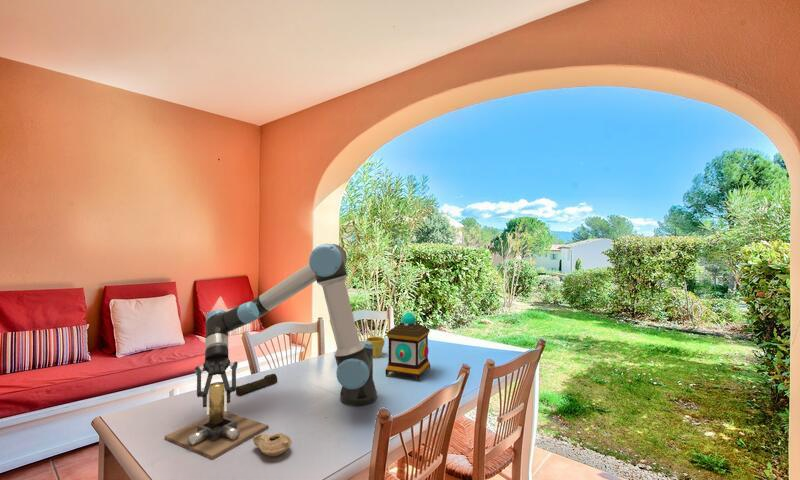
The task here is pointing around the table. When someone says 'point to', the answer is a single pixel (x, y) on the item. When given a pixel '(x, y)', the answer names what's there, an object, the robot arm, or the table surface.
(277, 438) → the pottery oil lamp
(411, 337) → the decorative lantern
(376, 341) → the plant pot
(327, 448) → the table surface
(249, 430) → the mounting board
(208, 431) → the socket housing
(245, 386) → the hand tool
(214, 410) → the cylinder
